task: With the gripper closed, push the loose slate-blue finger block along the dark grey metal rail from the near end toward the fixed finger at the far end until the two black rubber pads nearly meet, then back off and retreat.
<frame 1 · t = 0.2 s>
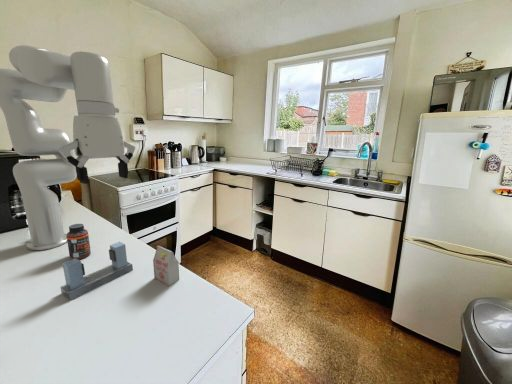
hand: (105, 180, 62), 30 cm above the worktop, fingers open, 9 cm apart
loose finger: (117, 255, 73), point 6 cm above the worktop, slide at 0.0 cm
supplement bottle: (80, 256, 83), on the worktop
rail: (100, 280, 70), on the worktop
white drink carton: (166, 279, 72), on the worktop
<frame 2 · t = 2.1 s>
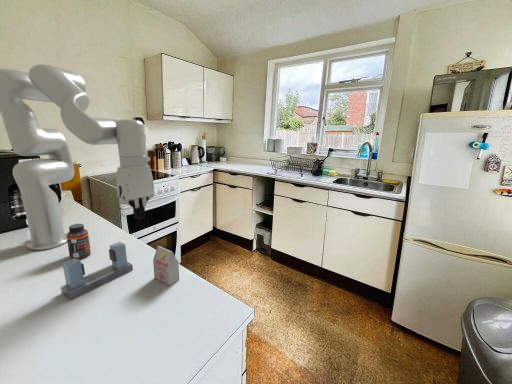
hand: (139, 218, 77), 15 cm above the worktop, fingers closed
nothing on the worktop moved.
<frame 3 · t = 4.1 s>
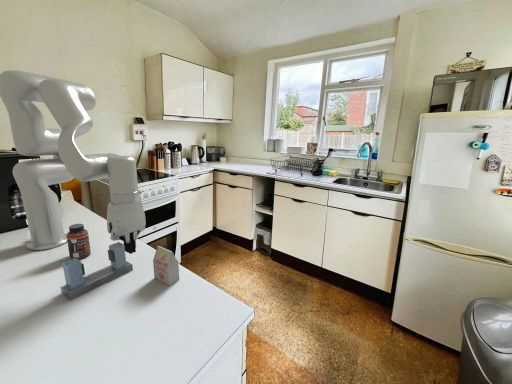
hand: (130, 251, 77), 5 cm above the worktop, fingers closed
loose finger: (116, 255, 73), point 6 cm above the worktop, slide at 0.3 cm, touching gripper
everything else where it was.
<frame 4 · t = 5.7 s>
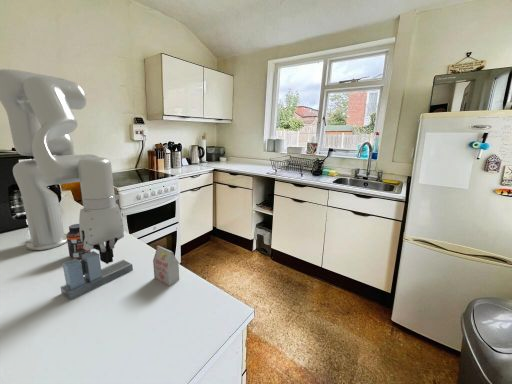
hand: (107, 261, 71), 5 cm above the worktop, fingers closed
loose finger: (90, 266, 67), point 6 cm above the worktop, slide at 7.5 cm, touching gripper
everything else where it was.
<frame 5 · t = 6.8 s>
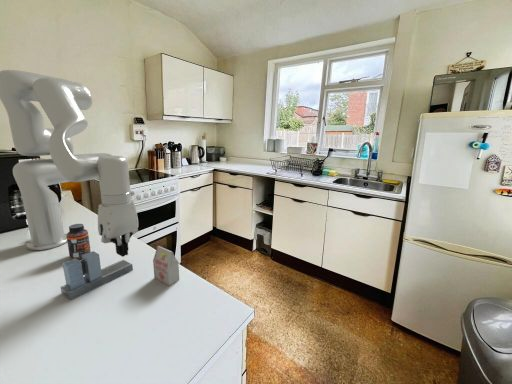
hand: (122, 254, 75), 5 cm above the worktop, fingers closed
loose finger: (90, 266, 67), point 6 cm above the worktop, slide at 7.5 cm
everything else where it was.
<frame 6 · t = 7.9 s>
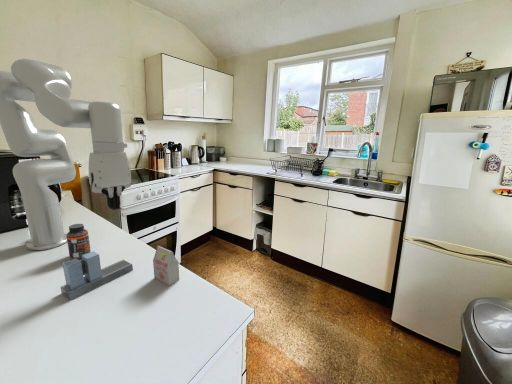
hand: (114, 208, 73), 20 cm above the worktop, fingers closed
nothing on the worktop moved.
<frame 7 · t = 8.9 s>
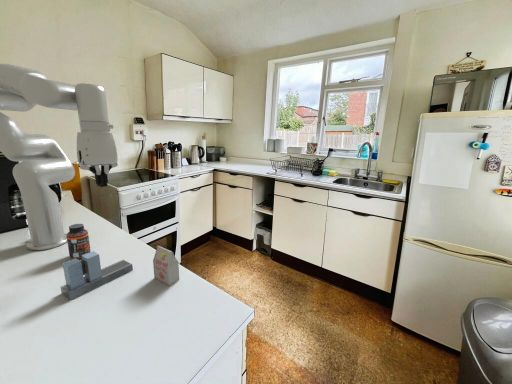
hand: (102, 186, 77), 25 cm above the worktop, fingers closed
nothing on the worktop moved.
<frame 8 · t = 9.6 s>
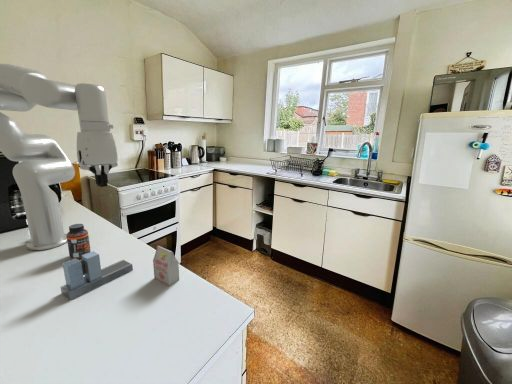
hand: (102, 186, 77), 25 cm above the worktop, fingers closed
nothing on the worktop moved.
at the end: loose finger slide at 7.5 cm; the gripper is holding nothing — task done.
